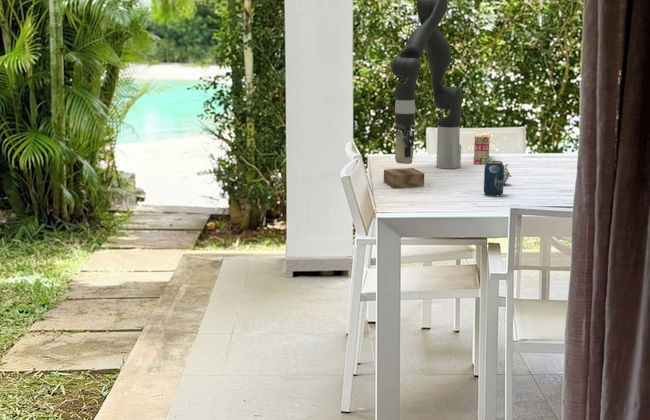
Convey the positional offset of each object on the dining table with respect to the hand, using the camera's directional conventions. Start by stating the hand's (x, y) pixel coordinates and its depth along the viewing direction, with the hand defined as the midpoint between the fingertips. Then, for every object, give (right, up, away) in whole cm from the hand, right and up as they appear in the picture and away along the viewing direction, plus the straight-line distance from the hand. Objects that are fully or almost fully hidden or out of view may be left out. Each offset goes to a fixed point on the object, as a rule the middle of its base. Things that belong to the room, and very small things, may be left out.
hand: (404, 155), depth 365 cm
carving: (0, -3, +1) cm, 3 cm away
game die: (+36, -11, +2) cm, 38 cm away
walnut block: (0, -11, +2) cm, 11 cm away
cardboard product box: (+38, +1, +53) cm, 65 cm away
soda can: (+31, -15, -15) cm, 38 cm away
